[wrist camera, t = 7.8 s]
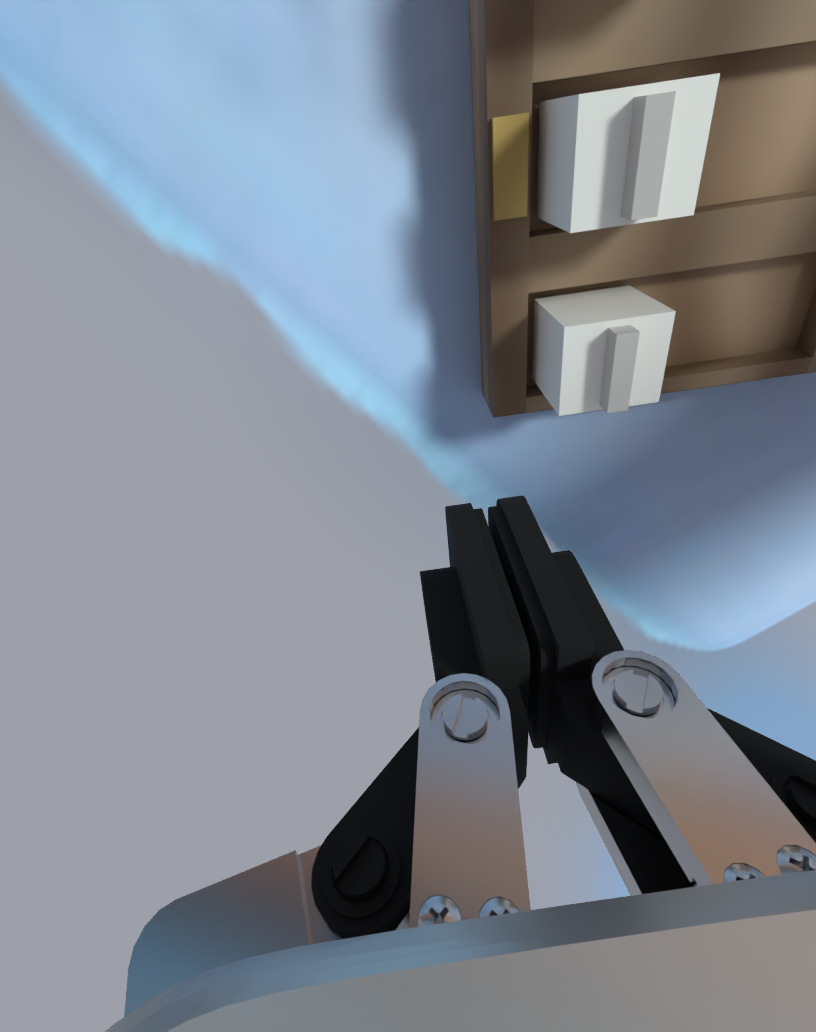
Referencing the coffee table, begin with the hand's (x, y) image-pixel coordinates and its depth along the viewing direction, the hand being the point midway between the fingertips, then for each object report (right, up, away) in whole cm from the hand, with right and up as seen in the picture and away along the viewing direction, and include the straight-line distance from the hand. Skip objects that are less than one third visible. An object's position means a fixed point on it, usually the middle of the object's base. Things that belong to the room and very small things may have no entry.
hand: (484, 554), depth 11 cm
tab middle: (+5, +14, +7) cm, 17 cm away
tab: (+6, +9, +11) cm, 15 cm away
